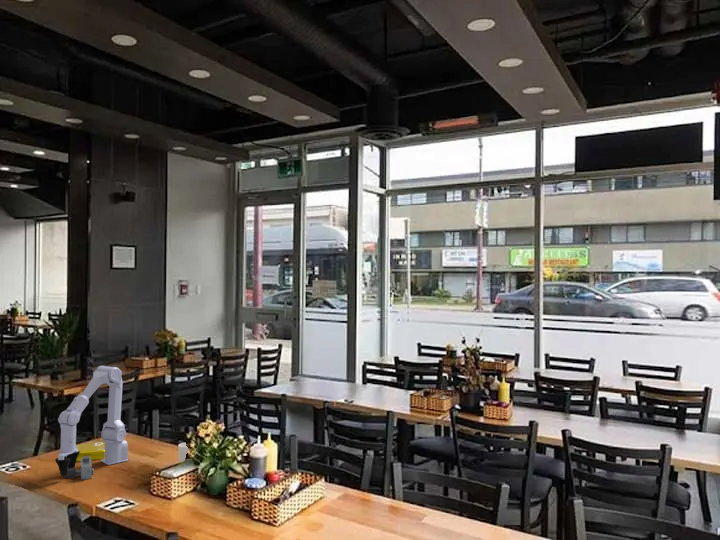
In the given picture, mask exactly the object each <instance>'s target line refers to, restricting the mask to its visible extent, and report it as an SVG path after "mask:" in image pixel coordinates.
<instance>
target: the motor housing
mask: <svg viewBox="0 0 720 540" xmlns="http://www.w3.org/2000/svg"><path fill="white" fill-rule="evenodd" d="M92 468H93V465H92V460H91V458H89V456H83V459H81V461H80V469H79V470H81V476H80V480H82V481H84V480H91V479H92V478H93V477H92V476H93V475H92Z"/></svg>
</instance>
